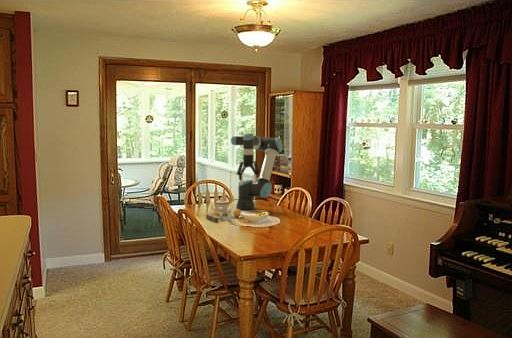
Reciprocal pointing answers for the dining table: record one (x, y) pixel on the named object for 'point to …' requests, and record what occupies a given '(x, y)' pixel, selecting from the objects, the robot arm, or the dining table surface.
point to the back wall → (212, 218)
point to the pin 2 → (229, 214)
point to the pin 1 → (220, 212)
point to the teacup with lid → (221, 204)
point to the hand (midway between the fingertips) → (248, 183)
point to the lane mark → (227, 218)
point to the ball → (237, 212)
